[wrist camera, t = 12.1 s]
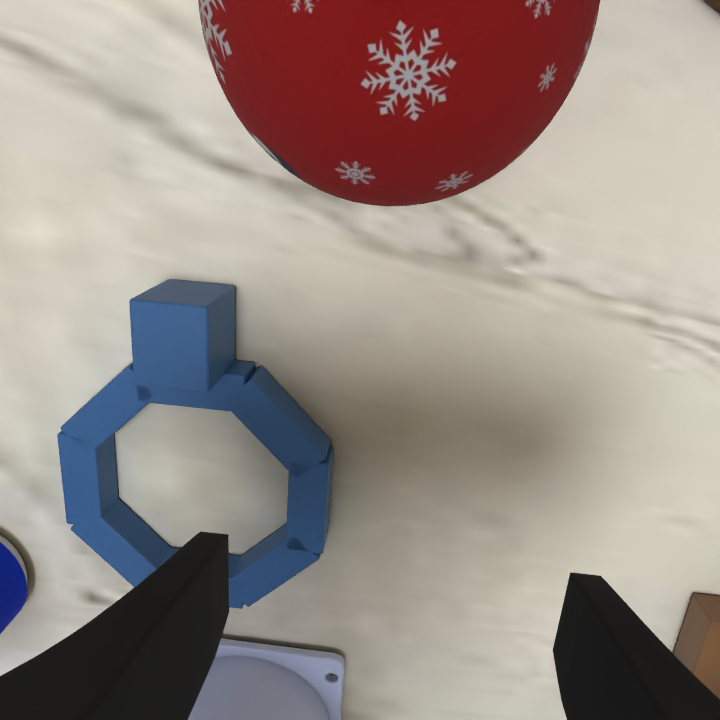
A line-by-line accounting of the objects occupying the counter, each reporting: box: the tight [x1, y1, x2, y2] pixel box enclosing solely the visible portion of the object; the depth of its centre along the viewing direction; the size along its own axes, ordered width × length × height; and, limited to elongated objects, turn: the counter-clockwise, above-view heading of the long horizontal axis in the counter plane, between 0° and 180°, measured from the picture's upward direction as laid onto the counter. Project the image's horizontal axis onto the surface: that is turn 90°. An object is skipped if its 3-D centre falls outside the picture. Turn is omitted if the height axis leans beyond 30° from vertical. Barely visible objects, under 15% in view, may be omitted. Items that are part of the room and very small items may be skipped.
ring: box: [57, 279, 334, 608], centre depth 21 cm, size 12×10×3 cm
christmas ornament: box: [198, 0, 600, 206], centre depth 13 cm, size 9×9×10 cm
